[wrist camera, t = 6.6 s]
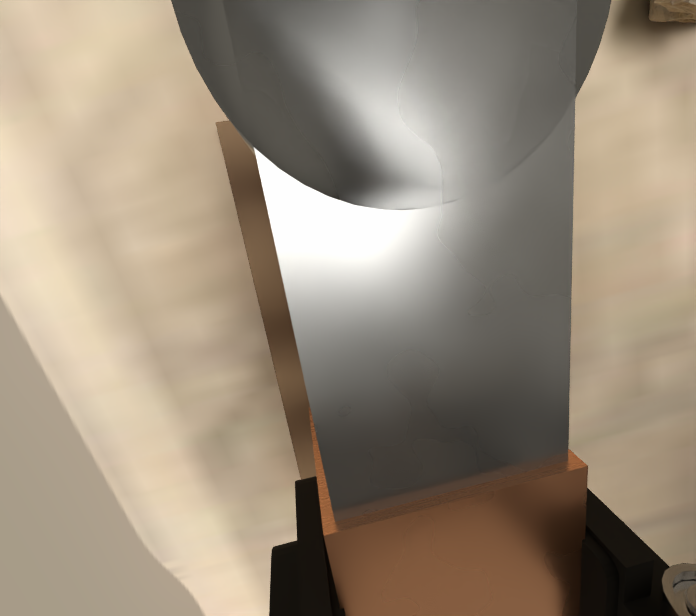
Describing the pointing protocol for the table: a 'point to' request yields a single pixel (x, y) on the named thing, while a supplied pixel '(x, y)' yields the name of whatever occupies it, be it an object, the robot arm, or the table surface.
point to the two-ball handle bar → (424, 279)
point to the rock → (673, 10)
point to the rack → (269, 290)
